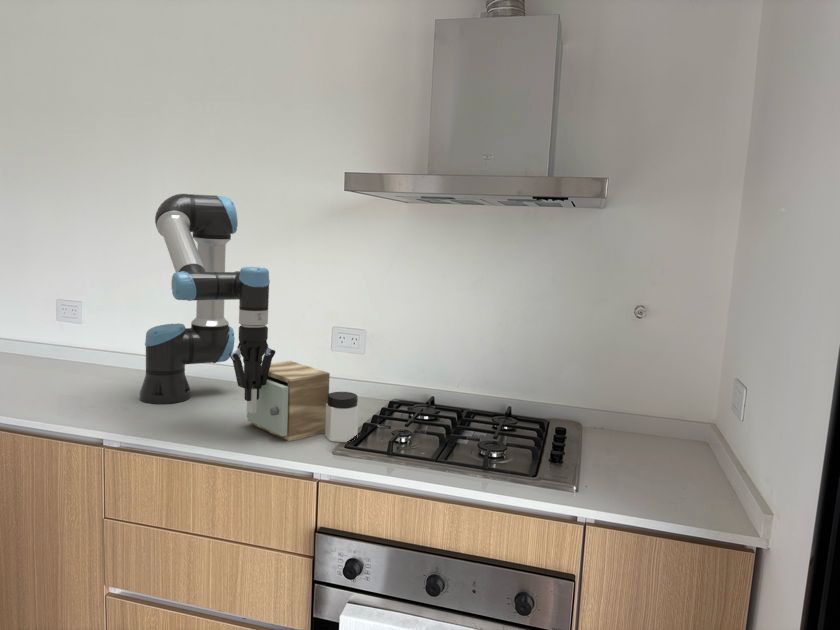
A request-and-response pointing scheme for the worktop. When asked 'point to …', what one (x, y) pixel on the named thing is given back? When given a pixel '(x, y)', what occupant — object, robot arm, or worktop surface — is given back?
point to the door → (271, 408)
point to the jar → (341, 416)
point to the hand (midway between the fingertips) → (251, 412)
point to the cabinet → (302, 398)
